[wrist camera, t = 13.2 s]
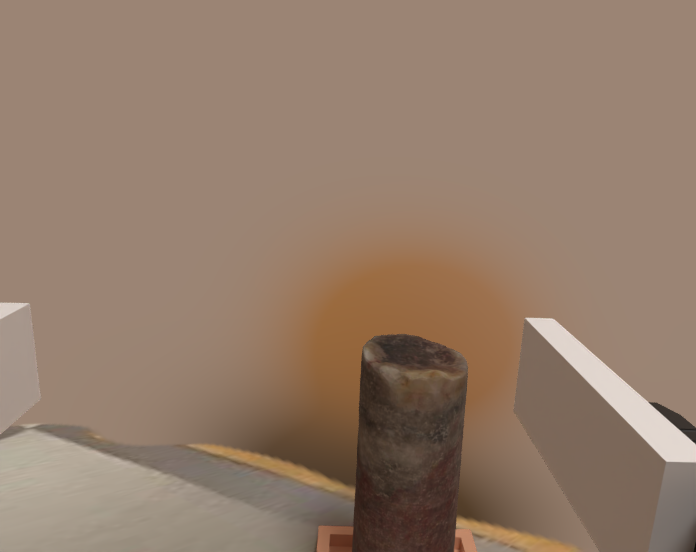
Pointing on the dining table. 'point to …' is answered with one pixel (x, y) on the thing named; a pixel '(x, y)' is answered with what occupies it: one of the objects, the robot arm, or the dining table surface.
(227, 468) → the dining table surface
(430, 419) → the candle
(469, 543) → the dish
